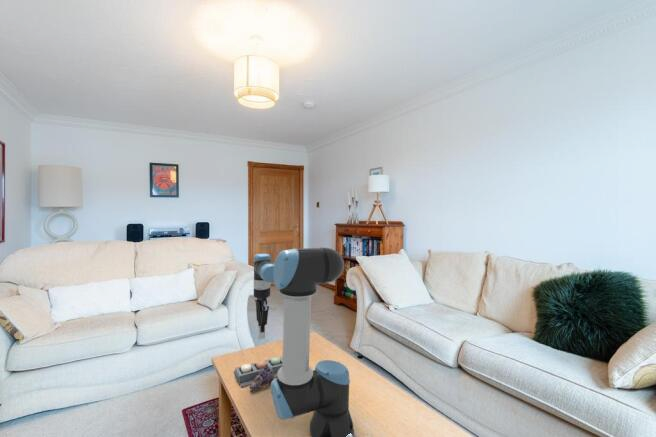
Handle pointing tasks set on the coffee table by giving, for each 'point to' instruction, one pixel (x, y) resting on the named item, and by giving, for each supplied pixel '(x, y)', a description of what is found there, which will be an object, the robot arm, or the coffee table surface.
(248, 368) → the button cream
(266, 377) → the purple lumpy piece
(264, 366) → the button terracotta
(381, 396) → the coffee table surface
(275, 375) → the button panel
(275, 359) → the button sage
